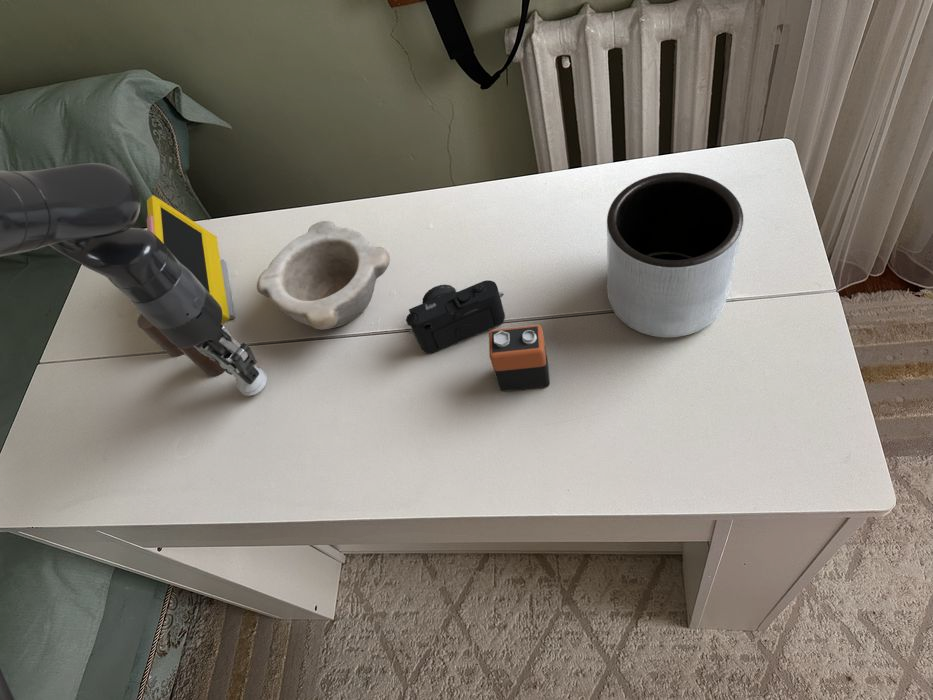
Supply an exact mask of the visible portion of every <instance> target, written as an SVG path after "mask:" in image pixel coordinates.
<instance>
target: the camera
mask: <svg viewBox="0 0 933 700" xmlns="http://www.w3.org/2000/svg"><path fill="white" fill-rule="evenodd" d="M503 296H504V293H503V291H499V287H498V285H497V283H496V282H495V281H494V280H490V279H487V280H483V281H480V282H478V283H475V284H472V285H471V286H468V287H466V288H463V289H461V290H459V291H457V289H456V288H455V287H453V286H452V285H451V284H439V285H437V286H434V287H432V288H430V289H429V290H428V291H427V292H425V293H424V296H423V297H422V301H421V303H420V304H418V305H415V306H412V307H411V308H409V309H408V311H409V313H408V314H407V316H406V317H405V322H406V324H407V326H409V327H410V328H411V329H410V330H409V331H408V333H409V334H410V335H414V338H415V340H416V341H417V343H418V345H419V348H420V350H421V351H422V352H423V353H425V354H427V355H429V354H430V355H432V354H434V353H436V352H439V351H441V350H444V349H447V348H449V347H452V346H453V345H457V344H458V343H461V342H463V341H466V340H468V339H471V338H473V337H475V336H478V335H480V334H482V333H484V332H487V331H491V330H493V329H495V328H496V327H499V326H501V325H502V324H503V323H504V321H505V319H506V315H505V309H504V306H503V302H502V297H503Z"/></svg>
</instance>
